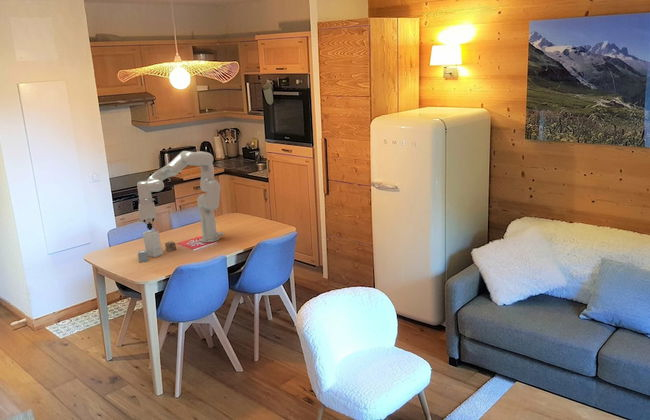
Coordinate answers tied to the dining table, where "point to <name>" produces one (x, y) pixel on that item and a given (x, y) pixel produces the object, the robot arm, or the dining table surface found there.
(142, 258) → the slate block dot
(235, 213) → the dining table surface
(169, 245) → the walnut block dot
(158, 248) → the skincare box
